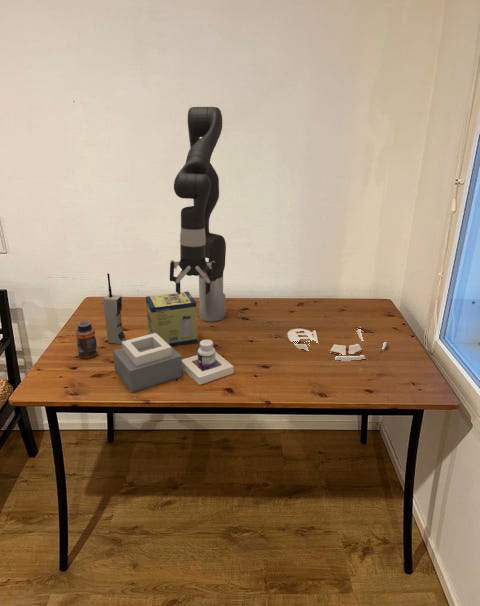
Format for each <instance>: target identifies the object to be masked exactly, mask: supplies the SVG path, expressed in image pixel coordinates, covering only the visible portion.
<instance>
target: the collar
mask: <svg viewBox="0 0 480 606" xmlns="http://www.w3.org/2000/svg"><path fill="white" fill-rule="evenodd" d="M215 365H216V367H215V368H212V369H209V370H205V371H201V370H200V369H199V368H198V354H196V355H192V356H190V357H186V358H183V359H182V371H183V370H184V372H185V373H186V374H187V375H188V376H189V377H190V378H191V379H192V380H193V381H195V382H196V384H197V385H199V386H200V385H203V384H207V383H209V382H212V381H214V380H219V379H221V378H224V377H226V376H227V377H228V376H230V375H232V374H234V368H235V367H234V365H233V364H231V363H230V362H229V361H228V360H226V358H224V357H223V356H222V355H221V354H219V353H218V352H217V351H215Z"/></svg>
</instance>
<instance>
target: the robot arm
mask: <svg viewBox="0 0 480 606" xmlns="http://www.w3.org/2000/svg"><path fill="white" fill-rule="evenodd" d="M187 127H188V128H187V129H188V137H189V138H188V139H189V147H190V148H189V150H188V152H187V155H186V160H185V164H184V165H182V168H181V169H180V170H179V172H178V173H177V174H176V176H175V178H174V182H173V192H174V193H175V195H176V196H177V197H179V198H181V199H190V200H192V201H193V205H190V206H184V207H183V208H182V209H181V211H180V234H179V235H180V236H179V238H180V239H179V243H180V245H179V246H180V249H179V250H180V252H179V254H180V257H179V258H180V259H179V261H175V260H170V263H169V281H170V282H174V283H175V293H178V294H180V292H181V281H182V280H183V279H184V277H185V276H188V277H192V276H194V277H198V295H199V296H198V297H199V299H198V301H199V318H200V319H201V320H202V321H205V322H218V321H221V320H223V318H225V317H226V294H225V293H224V270H225V267H226V256H227V255H226V253H227V242H226V240H225V237H224V236H223V235H221V234H219V233H218V234H217V233H213V232H210V218H211V215H212V212H213V210H214V209H215V207H216V205H217V204H218V202H219V199H220V178H219V175H218V173H217V170H215V168H214V166H213V165H212V163H211V160H212V159H211V158H212V156H213V152H214V151H215V148H216V146H217V143H218V142H219V141H218V140H219V139H220V136H221V134H222V131H223V114H222V112H221V109H220V108H219V107H217V106H191V107H190V108H189V109H188V112H187ZM206 259H208V261H207V260H206ZM178 266H179V268H180V269H181V270H180V272H179V274H178V275H177V276H174V275H175V269H177V268H178Z"/></svg>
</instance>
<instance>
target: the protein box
mask: <svg viewBox="0 0 480 606" xmlns="http://www.w3.org/2000/svg"><path fill="white" fill-rule="evenodd" d="M145 303H146V305H145V306H146V314H147V315H146V316H147V330H148V331H147V332H148V335H149V334H153V333H157V334H158V335H159V336H160V337H162V338H163V339H164V340H165V341H166V342H167V343H168V344H169V345H170V346H171V347H172V348H174V347H178V346H184V345H191V344H197V343H198V321H197V320H198V319H197V318H198V317H197V315H198V314H197V312H198V311H197V302H196V300H195V299H194V298H193V296H192V294H191V293H190V292H189V291H180V294H178V293H176V292H174V293H173V292H171V293H166V294H158V295H157V294H156V295H147V296H146V297H145Z"/></svg>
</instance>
